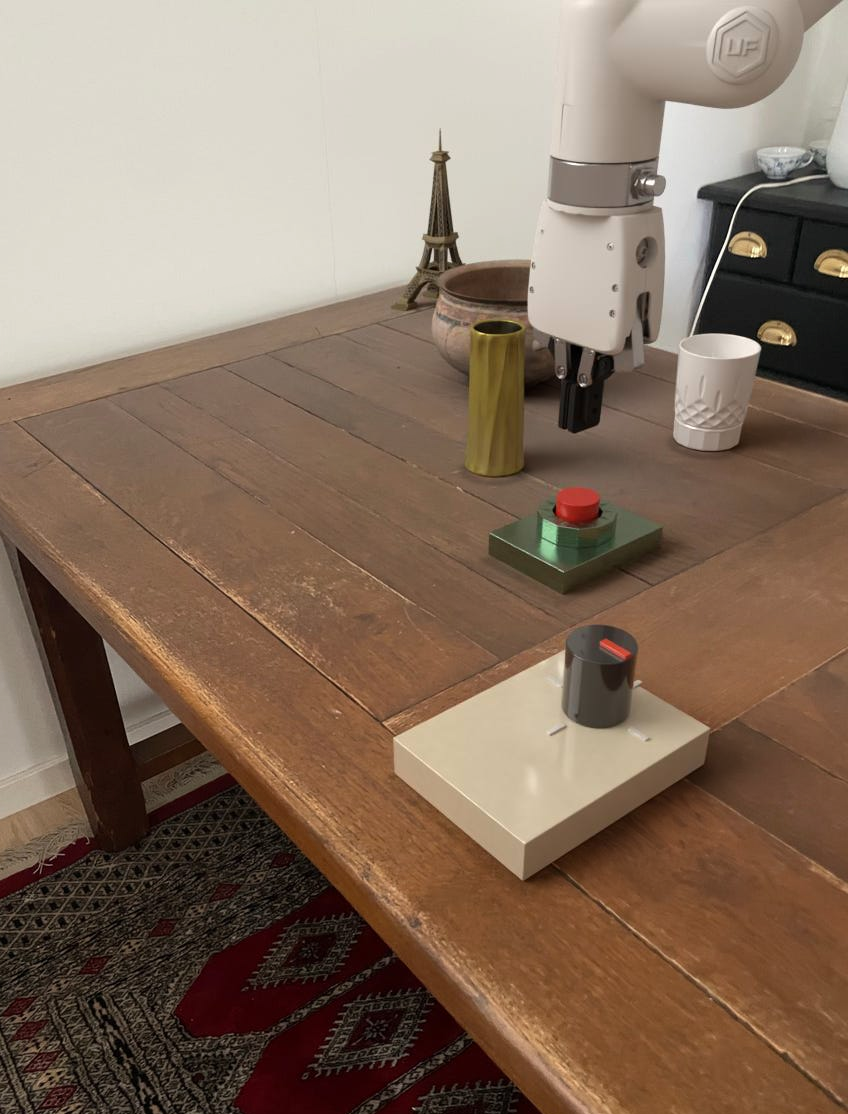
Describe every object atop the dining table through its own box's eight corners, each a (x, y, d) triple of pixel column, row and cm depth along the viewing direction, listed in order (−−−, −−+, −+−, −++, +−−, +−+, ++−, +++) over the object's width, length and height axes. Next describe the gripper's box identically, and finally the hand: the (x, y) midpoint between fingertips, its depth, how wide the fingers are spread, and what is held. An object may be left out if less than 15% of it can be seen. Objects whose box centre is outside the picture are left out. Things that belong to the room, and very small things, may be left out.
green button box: (584, 513, 95) (587, 473, 93) (660, 548, 89) (665, 507, 87) (488, 554, 90) (489, 513, 87) (562, 595, 84) (565, 552, 81)
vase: (500, 483, 101) (505, 340, 94) (452, 467, 105) (452, 328, 97) (535, 462, 105) (543, 323, 97) (488, 448, 109) (491, 313, 101)
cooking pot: (400, 361, 133) (398, 264, 126) (532, 340, 137) (536, 245, 131) (481, 429, 113) (483, 318, 106) (631, 402, 118) (643, 294, 111)
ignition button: (576, 501, 90) (577, 483, 89) (607, 515, 87) (609, 497, 86) (546, 514, 88) (547, 495, 87) (577, 528, 85) (579, 510, 84)
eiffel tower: (489, 300, 154) (494, 115, 140) (449, 318, 147) (449, 126, 133) (432, 290, 160) (431, 112, 146) (391, 308, 153) (385, 122, 139)
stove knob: (546, 704, 67) (551, 636, 64) (594, 679, 69) (601, 612, 66) (596, 737, 64) (603, 668, 61) (644, 710, 66) (654, 642, 63)
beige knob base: (571, 678, 74) (574, 642, 72) (707, 762, 66) (714, 724, 64) (393, 773, 66) (392, 735, 65) (522, 881, 58) (525, 842, 56)
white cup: (655, 444, 108) (667, 351, 102) (683, 419, 113) (695, 329, 107) (730, 460, 104) (746, 363, 98) (755, 433, 109) (771, 340, 103)
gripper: (721, 191, 70) (682, 443, 80) (563, 163, 80) (546, 390, 90) (647, 207, 66) (616, 469, 76) (491, 176, 76) (482, 411, 86)
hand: (578, 426), depth 83 cm, fingers closed
